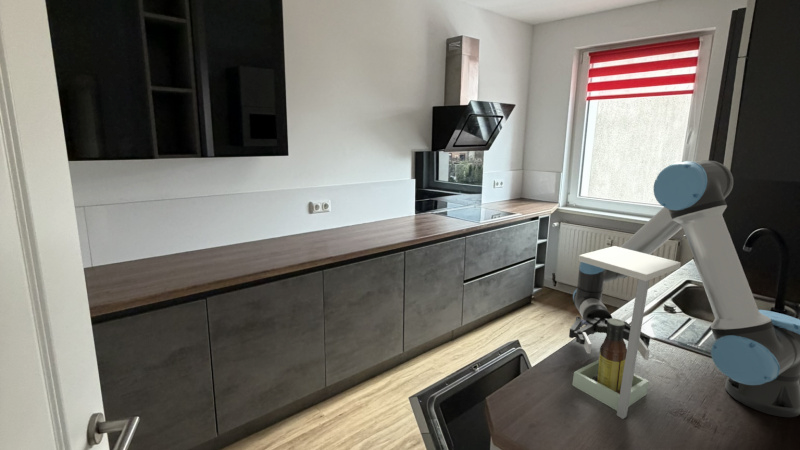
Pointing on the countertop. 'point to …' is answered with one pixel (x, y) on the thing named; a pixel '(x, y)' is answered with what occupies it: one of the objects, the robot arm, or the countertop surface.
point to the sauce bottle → (612, 356)
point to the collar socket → (603, 393)
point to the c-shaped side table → (643, 270)
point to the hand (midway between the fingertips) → (618, 351)
